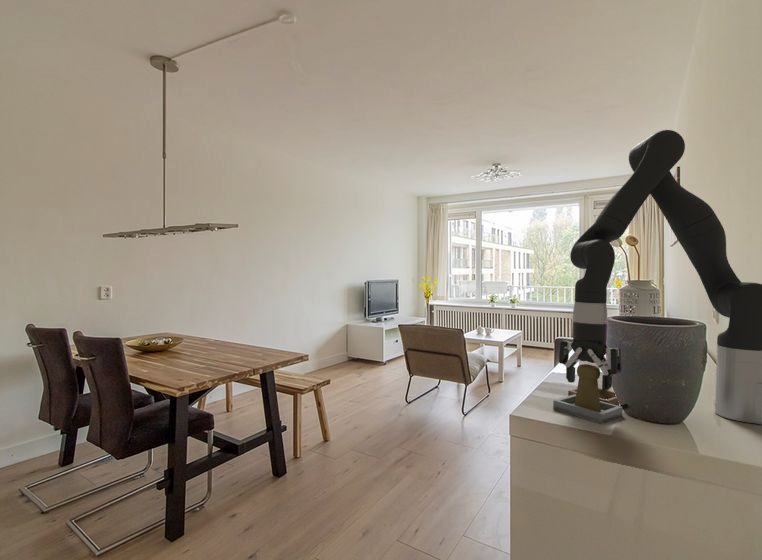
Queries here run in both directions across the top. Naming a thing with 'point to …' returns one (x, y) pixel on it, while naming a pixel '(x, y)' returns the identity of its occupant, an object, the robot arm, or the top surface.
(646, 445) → the top surface
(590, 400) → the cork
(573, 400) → the tray
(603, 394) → the socket block
